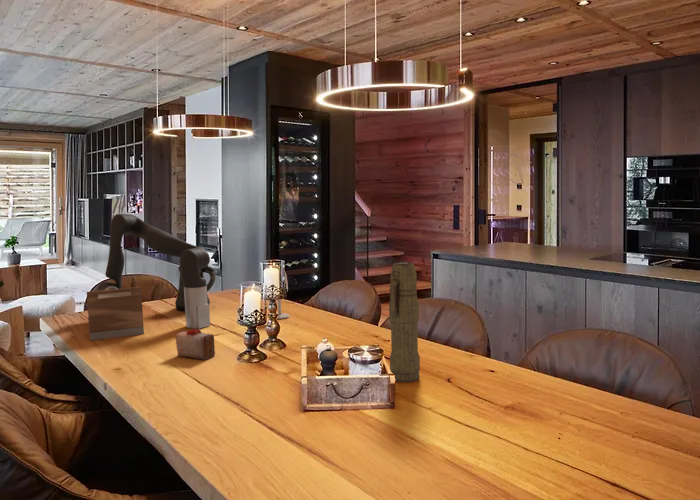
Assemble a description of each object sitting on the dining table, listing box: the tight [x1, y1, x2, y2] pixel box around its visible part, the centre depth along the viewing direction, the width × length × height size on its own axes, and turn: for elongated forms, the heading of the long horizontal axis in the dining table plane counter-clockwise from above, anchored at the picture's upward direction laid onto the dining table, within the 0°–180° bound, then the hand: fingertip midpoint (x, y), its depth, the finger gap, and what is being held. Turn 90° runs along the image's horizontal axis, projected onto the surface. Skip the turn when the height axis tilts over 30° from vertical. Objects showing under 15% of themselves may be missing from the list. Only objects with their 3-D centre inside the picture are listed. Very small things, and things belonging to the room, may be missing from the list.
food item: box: [175, 328, 216, 361], centre depth 203 cm, size 14×8×10 cm, turn 63°
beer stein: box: [174, 265, 216, 313], centre depth 283 cm, size 16×19×25 cm
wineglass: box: [276, 272, 291, 320], centre depth 259 cm, size 9×9×21 cm
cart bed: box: [87, 317, 145, 341], centre depth 240 cm, size 18×20×6 cm
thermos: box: [388, 261, 421, 383], centre depth 173 cm, size 9×12×35 cm
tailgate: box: [86, 286, 144, 333], centre depth 231 cm, size 2×20×16 cm, turn 115°
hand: (114, 303), depth 235 cm, fingers closed
